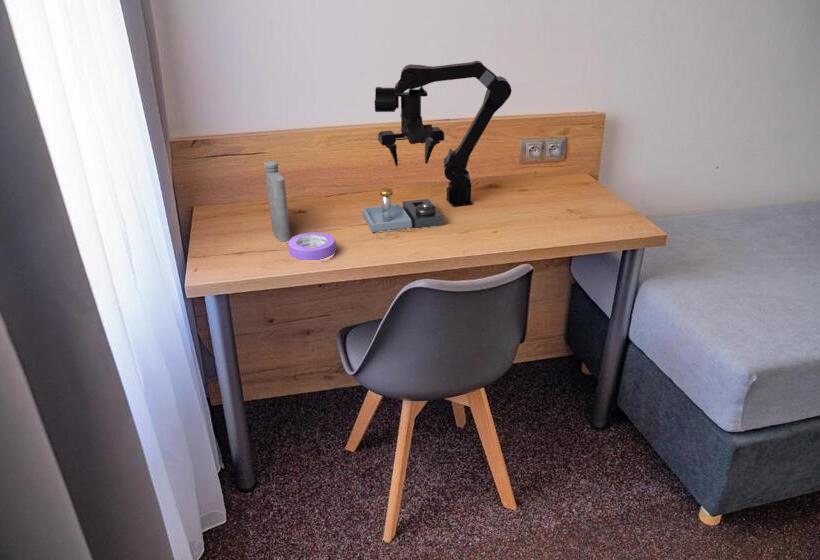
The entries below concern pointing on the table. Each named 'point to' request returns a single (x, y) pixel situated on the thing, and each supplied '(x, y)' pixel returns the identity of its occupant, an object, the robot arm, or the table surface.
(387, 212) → the lock pin
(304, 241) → the masking tape
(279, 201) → the hip flask
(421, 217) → the grey holder base
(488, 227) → the table surface
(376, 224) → the tray
